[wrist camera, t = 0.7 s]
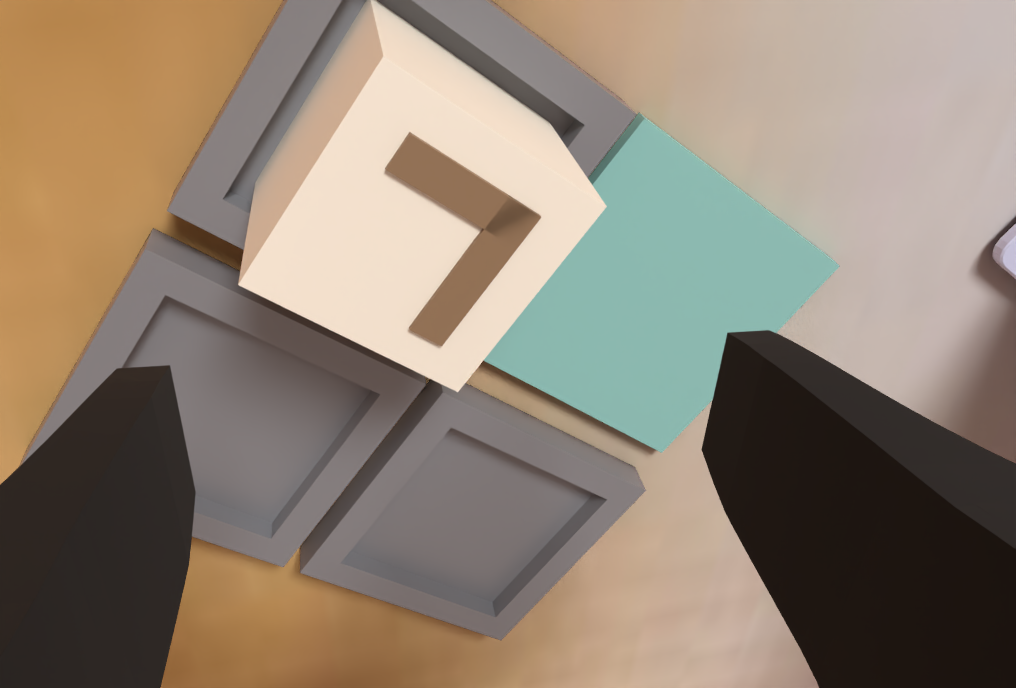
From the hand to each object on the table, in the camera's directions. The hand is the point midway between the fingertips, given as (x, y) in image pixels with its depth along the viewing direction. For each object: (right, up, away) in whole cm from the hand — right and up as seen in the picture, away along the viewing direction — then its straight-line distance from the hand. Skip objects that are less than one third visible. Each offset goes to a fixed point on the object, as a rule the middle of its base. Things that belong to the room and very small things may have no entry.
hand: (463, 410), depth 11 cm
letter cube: (-2, +5, +7) cm, 9 cm away
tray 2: (-6, -1, +10) cm, 12 cm away
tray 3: (-1, -4, +13) cm, 14 cm away
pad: (+4, +2, +11) cm, 12 cm away
